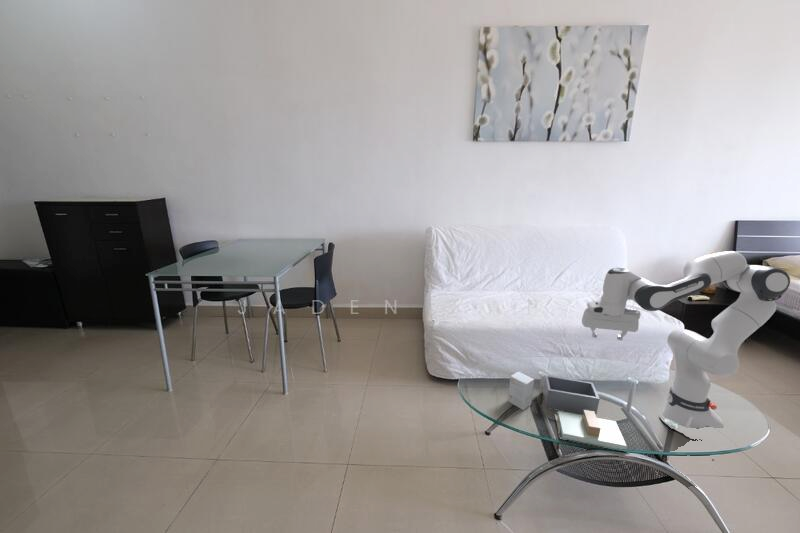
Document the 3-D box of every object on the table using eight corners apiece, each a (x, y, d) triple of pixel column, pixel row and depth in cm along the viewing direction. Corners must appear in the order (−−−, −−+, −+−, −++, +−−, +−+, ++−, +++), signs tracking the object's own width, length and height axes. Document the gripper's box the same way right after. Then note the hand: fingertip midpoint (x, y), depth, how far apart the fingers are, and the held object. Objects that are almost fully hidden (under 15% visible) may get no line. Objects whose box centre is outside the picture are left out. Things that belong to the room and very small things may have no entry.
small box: (531, 404, 157) (534, 379, 153) (523, 410, 153) (526, 384, 149) (515, 395, 163) (518, 370, 159) (507, 401, 159) (510, 375, 155)
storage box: (589, 400, 161) (592, 382, 159) (595, 417, 150) (599, 398, 147) (542, 391, 166) (545, 374, 164) (545, 407, 155) (548, 389, 153)
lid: (614, 425, 144) (617, 412, 143) (625, 450, 132) (628, 436, 130) (557, 415, 150) (559, 402, 148) (562, 438, 137) (564, 424, 136)
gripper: (638, 306, 144) (632, 337, 148) (583, 302, 149) (578, 332, 153) (644, 312, 138) (637, 344, 142) (587, 307, 143) (582, 338, 147)
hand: (606, 338), depth 147 cm, fingers open, 8 cm apart
